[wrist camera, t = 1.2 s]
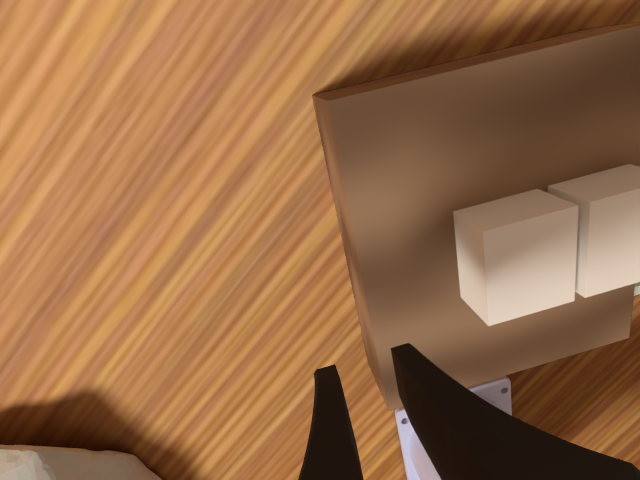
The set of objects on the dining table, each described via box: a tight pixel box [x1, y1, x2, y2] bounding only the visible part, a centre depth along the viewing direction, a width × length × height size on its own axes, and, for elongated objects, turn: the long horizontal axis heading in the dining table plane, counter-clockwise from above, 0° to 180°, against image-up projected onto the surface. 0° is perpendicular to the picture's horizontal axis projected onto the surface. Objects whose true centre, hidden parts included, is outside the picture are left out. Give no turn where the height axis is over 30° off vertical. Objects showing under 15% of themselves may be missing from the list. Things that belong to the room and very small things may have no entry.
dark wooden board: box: [312, 22, 640, 411], centre depth 21 cm, size 16×14×4 cm
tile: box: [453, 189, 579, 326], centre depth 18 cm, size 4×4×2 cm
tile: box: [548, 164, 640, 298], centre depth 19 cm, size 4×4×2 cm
